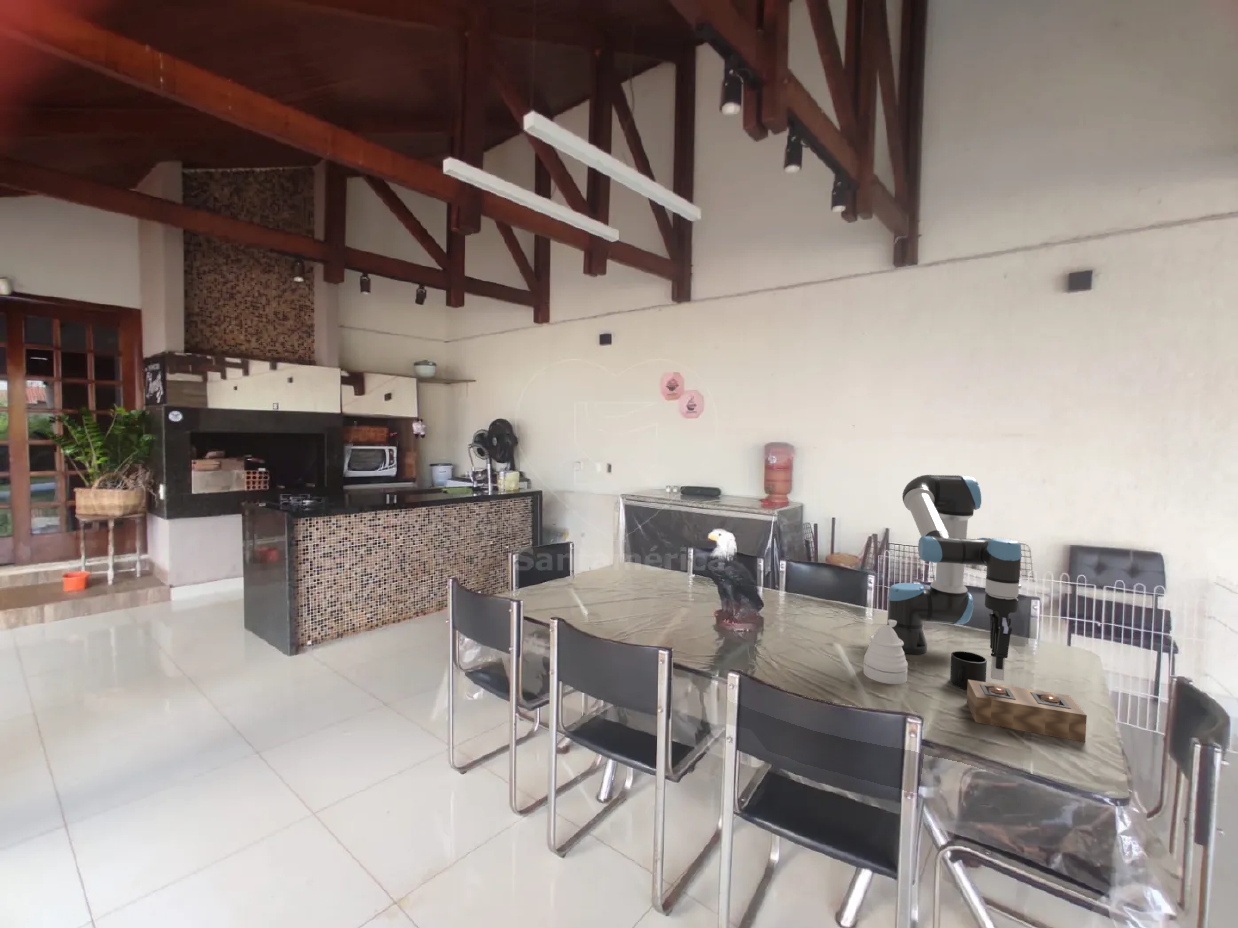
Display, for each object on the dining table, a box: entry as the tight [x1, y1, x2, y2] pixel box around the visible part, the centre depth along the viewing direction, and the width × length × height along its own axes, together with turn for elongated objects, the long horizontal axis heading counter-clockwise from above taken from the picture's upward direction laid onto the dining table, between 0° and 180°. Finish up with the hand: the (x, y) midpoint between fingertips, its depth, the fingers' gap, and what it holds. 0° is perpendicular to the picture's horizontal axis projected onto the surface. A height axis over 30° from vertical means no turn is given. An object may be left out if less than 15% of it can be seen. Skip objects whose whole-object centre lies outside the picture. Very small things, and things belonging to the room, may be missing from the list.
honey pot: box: [863, 619, 909, 685], centre depth 179 cm, size 13×13×18 cm
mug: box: [949, 650, 988, 691], centre depth 172 cm, size 9×12×9 cm
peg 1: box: [988, 686, 1006, 696], centre depth 153 cm, size 4×4×7 cm
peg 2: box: [1041, 694, 1060, 705], centre depth 148 cm, size 4×4×7 cm
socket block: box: [966, 680, 1088, 743], centre depth 150 cm, size 24×12×7 cm, turn 67°
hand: (997, 678), depth 153 cm, fingers closed
